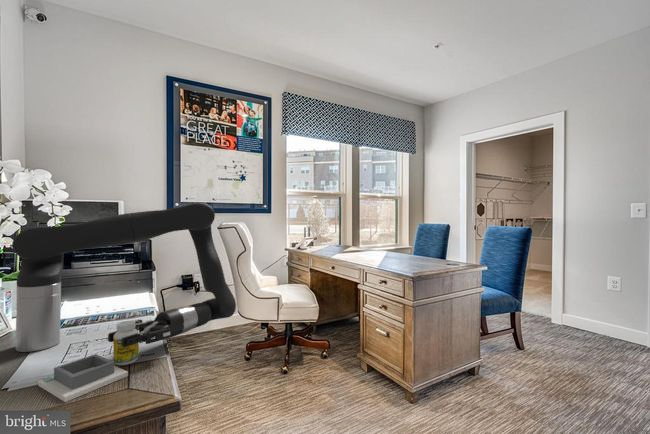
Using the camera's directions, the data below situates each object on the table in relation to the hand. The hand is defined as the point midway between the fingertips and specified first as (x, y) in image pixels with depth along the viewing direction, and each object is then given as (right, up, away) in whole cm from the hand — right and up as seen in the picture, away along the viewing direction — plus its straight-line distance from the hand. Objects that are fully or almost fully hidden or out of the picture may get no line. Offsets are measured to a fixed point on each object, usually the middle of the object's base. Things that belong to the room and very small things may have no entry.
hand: (115, 340), depth 78 cm
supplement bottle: (+1, -6, +2) cm, 7 cm away
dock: (-2, -6, -7) cm, 10 cm away
